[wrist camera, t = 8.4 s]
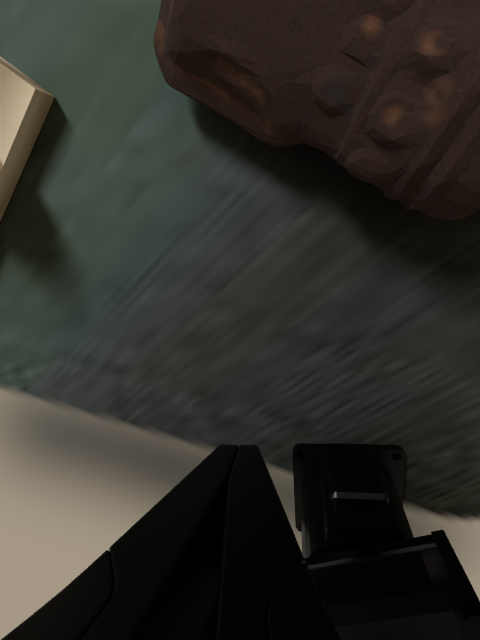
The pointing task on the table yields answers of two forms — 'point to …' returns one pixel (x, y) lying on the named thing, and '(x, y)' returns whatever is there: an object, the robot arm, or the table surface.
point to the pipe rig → (18, 125)
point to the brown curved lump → (343, 85)
